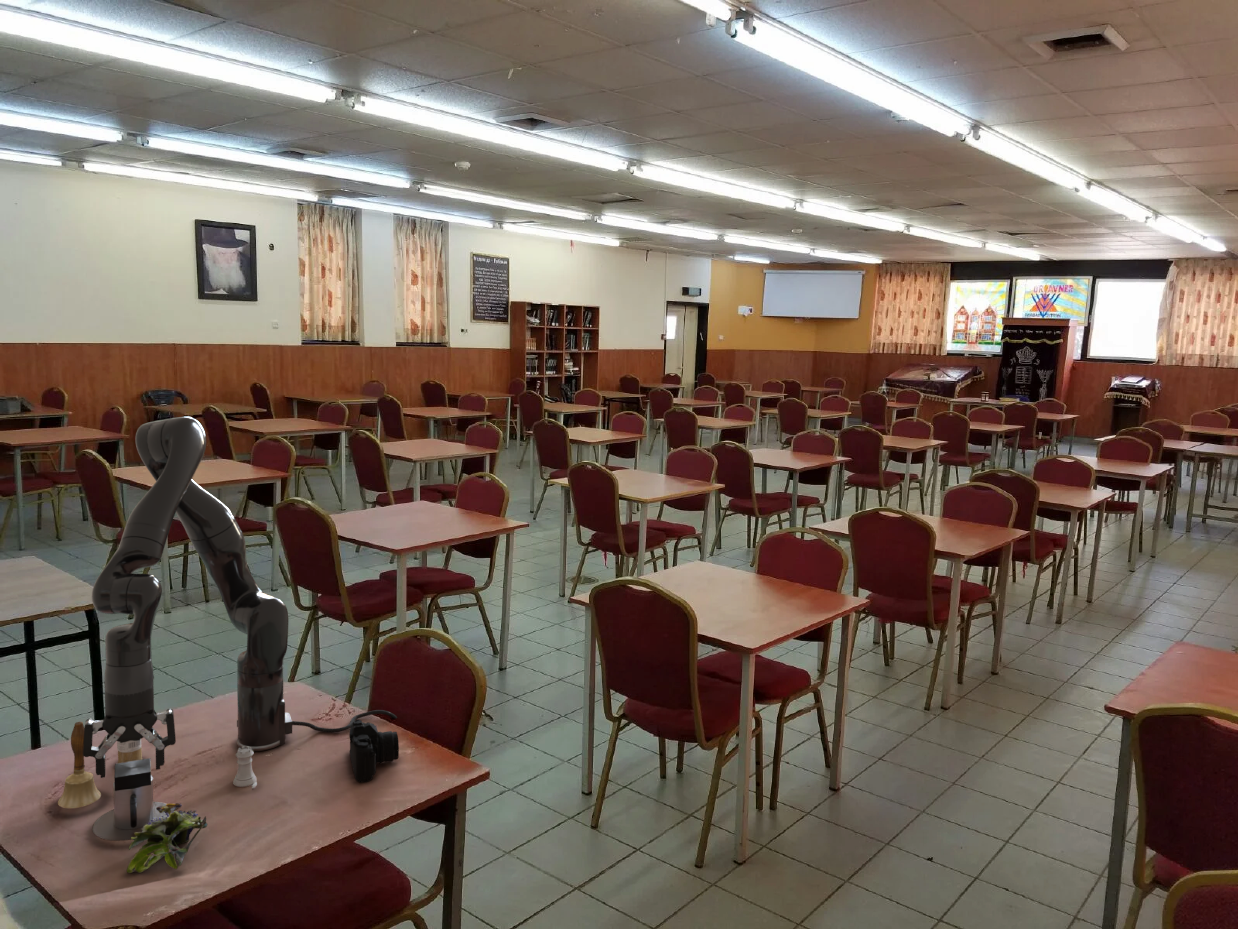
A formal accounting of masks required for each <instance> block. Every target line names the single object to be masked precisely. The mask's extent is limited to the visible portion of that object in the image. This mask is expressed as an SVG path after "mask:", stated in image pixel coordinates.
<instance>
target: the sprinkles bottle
mask: <svg viewBox="0 0 1238 929" xmlns="http://www.w3.org/2000/svg"><path fill="white" fill-rule="evenodd" d="M116 748H117V763H123V762H129V761H136V760H142V759H143V756H142V755H143V754H142V753H143V752H142V739H140V740H138V741H131V740H130V741H127V742H124V743H120V742H118V741H116Z"/></svg>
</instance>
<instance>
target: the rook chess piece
mask: <svg viewBox="0 0 1238 929" xmlns="http://www.w3.org/2000/svg"><path fill="white" fill-rule="evenodd" d="M254 752H255V751H252V748H251V747H250V749H249V746H247V747H246V748H245V749H244V746H243V747H242V749H241V748H239V747H238V749H237V751H236V753H235V757H236V758H237V760H236V764H237V771H236V774H235V777H234V779H233V781H232V784H233V785H234V786H235V787H237V788H246V787H250V786H251V789H252V790H254V789H255V788H256V787H257V786H258V782H257V776H256V774H255V773H254V771H253V766H252V765H253V764H252V762H253V758H252V756H253V755H254Z"/></svg>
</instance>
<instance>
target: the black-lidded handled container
mask: <svg viewBox="0 0 1238 929" xmlns="http://www.w3.org/2000/svg"><path fill="white" fill-rule="evenodd" d="M113 779H114V780H113V783H112V785H113V786H112V793H113V809H114V825H115V826H116V827H117V828H119V829H125V830H128V829H135V828H139V827H142V826H145V825H147V823H148V822H149V821H151V820H153V819H152V818H154V802H155V801H154V776H153V775H152V761H151V758H149V757H148V758H142V760H136V761H129V762H123V763H118V762H116V763H115V764H114V778H113Z"/></svg>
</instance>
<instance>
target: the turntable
mask: <svg viewBox="0 0 1238 929" xmlns="http://www.w3.org/2000/svg"><path fill="white" fill-rule="evenodd" d="M153 802H154V819H156V818H159V817H160V818H161V817H162V816H164V817H167V815H166V814H165V813H159V811H158V810H157V809H156V808H157V807H159V806H166V805H167V804H168V803H165V802H160V801H153ZM173 812H174V811H173ZM154 819H153V820H154ZM142 828H144V827H143V826H142V827H139V828H135V829H128V830H125V829H119V828H117V827H116V826H115V825H114V808H113V809H110V810H108V811H107V812H105V813H103V814H102V815H101V816H99V817H98V818H97V819H96V820H95V821H94V822H93V825H92V829H91V830H92V833H93V835H94V836H96V837H97V838H99V839H102V840H104V841H105V840H106V841H111V842H112V841H113V842H122V841H131V840H132V839H131V837H137V836H135V834H134V833H136V832H138V833H139V832H140V833H141V832H142V831H143V830H142ZM132 841H133V840H132Z"/></svg>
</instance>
